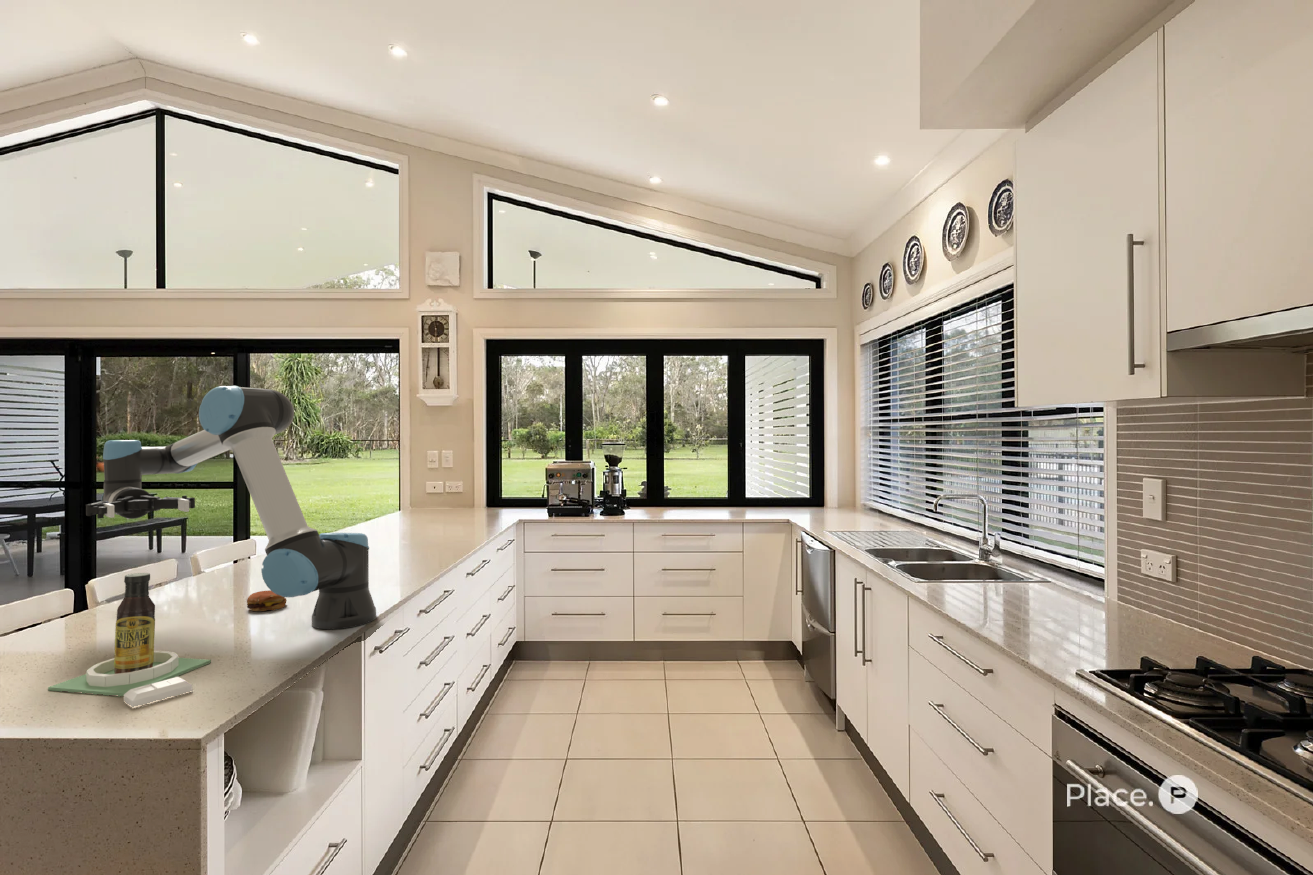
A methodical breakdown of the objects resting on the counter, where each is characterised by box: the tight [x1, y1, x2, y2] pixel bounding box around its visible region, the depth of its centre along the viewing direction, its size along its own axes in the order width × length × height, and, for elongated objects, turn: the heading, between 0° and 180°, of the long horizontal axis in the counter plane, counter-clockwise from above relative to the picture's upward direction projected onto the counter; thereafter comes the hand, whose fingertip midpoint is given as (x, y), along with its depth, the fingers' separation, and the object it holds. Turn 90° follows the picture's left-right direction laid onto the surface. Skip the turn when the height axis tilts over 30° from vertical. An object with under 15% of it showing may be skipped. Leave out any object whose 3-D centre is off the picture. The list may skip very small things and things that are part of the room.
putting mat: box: [47, 650, 212, 697], centre depth 129 cm, size 18×18×3 cm
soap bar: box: [123, 676, 193, 707], centre depth 118 cm, size 5×9×3 cm, turn 145°
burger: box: [246, 589, 287, 612], centre depth 179 cm, size 10×9×5 cm
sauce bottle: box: [113, 572, 156, 674], centre depth 129 cm, size 7×6×20 cm
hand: (151, 508), depth 145 cm, fingers open, 13 cm apart
